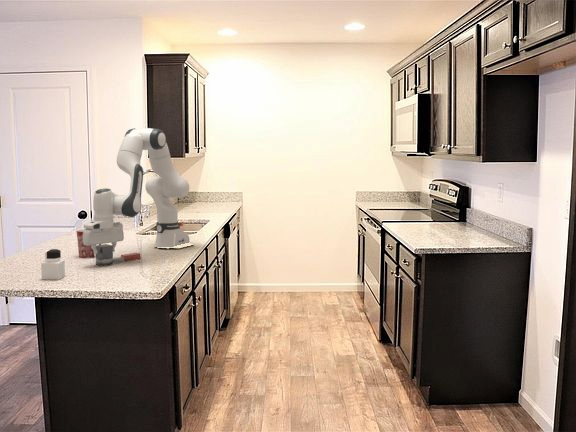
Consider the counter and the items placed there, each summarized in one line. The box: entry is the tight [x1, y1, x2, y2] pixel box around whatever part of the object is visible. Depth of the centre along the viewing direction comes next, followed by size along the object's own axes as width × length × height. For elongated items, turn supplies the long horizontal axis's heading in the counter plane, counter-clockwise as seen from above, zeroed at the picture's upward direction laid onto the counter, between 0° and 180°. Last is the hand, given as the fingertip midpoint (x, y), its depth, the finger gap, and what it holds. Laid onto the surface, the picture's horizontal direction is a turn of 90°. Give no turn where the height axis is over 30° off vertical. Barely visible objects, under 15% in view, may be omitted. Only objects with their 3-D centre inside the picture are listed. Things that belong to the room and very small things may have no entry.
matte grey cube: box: [95, 243, 114, 260], centre depth 263 cm, size 6×6×6 cm
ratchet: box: [95, 252, 141, 267], centre depth 269 cm, size 23×8×8 cm, turn 142°
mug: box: [75, 228, 102, 259], centre depth 280 cm, size 13×9×14 cm
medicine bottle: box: [40, 248, 66, 281], centre depth 234 cm, size 7×7×12 cm
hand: (104, 252), depth 263 cm, fingers open, 7 cm apart
